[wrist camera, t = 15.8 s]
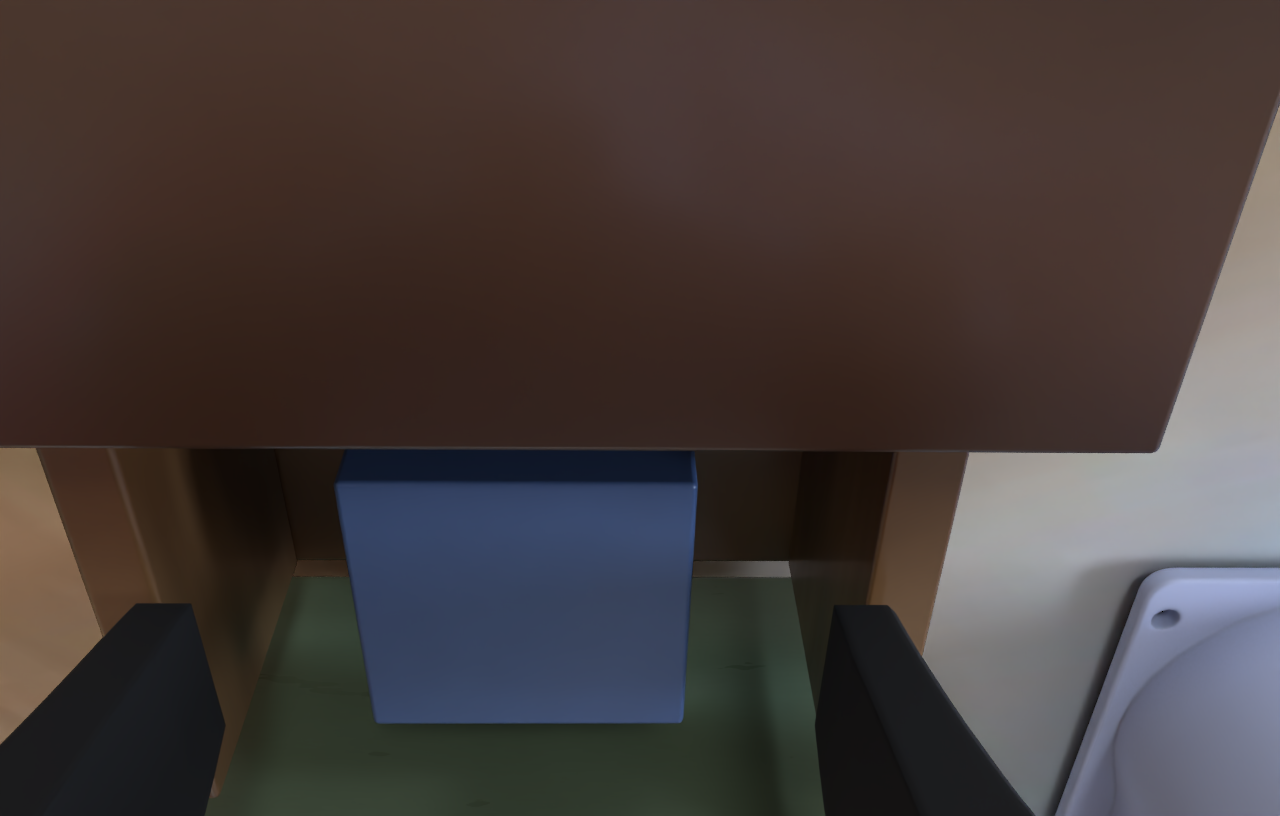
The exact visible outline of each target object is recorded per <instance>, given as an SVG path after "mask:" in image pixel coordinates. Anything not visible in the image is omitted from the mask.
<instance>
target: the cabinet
mask: <svg viewBox="0 0 1280 816" xmlns="http://www.w3.org/2000/svg"><path fill="white" fill-rule="evenodd" d="M1279 104H1280V0H0V448H169V449H381V450H593V451H805V452H1016V453H1153V452H1156V451H1157V450H1158V449H1159V447H1160V445H1161V442H1162V439H1163V436H1164V433H1165V430H1166V427H1167V425H1168V422H1169V419H1170V416H1171V413H1172V410H1173V407H1174V404H1175V402H1176V399H1177V396H1178V393H1179V390H1180V387H1181V384H1182V382H1183V379H1184V376H1185V373H1186V370H1187V367H1188V364H1189V362H1190V359H1191V356H1192V353H1193V350H1194V347H1195V344H1196V342H1197V339H1198V336H1199V333H1200V330H1201V327H1202V324H1203V322H1204V319H1205V316H1206V313H1207V310H1208V307H1209V304H1210V302H1211V299H1212V296H1213V293H1214V290H1215V287H1216V284H1217V281H1218V279H1219V276H1220V273H1221V270H1222V267H1223V264H1224V261H1225V259H1226V256H1227V253H1228V250H1229V247H1230V244H1231V241H1232V239H1233V236H1234V233H1235V230H1236V227H1237V224H1238V221H1239V219H1240V216H1241V213H1242V210H1243V207H1244V204H1245V201H1246V199H1247V196H1248V193H1249V190H1250V187H1251V184H1252V181H1253V179H1254V176H1255V173H1256V170H1257V167H1258V164H1259V161H1260V158H1261V156H1262V153H1263V150H1264V147H1265V144H1266V141H1267V138H1268V136H1269V133H1270V130H1271V127H1272V124H1273V121H1274V118H1275V116H1276V113H1277V110H1278V107H1279Z"/></svg>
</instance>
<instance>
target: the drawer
mask: <svg viewBox="0 0 1280 816" xmlns="http://www.w3.org/2000/svg"><path fill="white" fill-rule="evenodd" d="M36 450H37V453H38V455H39V458H40V461H41V464H42V467H43V470H44V472H45V475H46V478H47V481H48V484H49V486H50V489H51V492H52V495H53V498H54V501H55V503H56V506H57V509H58V512H59V515H60V517H61V520H62V523H63V526H64V529H65V532H66V534H67V537H68V540H69V543H70V546H71V548H72V551H73V554H74V557H75V560H76V563H77V565H78V568H79V571H80V574H81V577H82V579H83V582H84V585H85V588H86V591H87V594H88V596H89V599H90V602H91V605H92V608H93V610H94V613H95V616H96V619H97V622H98V625H99V627H100V630H101V633H102V636H103V637H104V636H105V635H106V634H107V633H108V632H109V630H110V629H111V628H112V627H113V626H114V625H115V624H116V623H117V622H118V621H119V620H120V619H121V618H122V617H123V616H124V615H125V614H126V613H127V612H128V611H129V610H130V609H131V608H132V607H133V606H134V605H135V604H136V603H191V604H192V608H193V611H194V615H195V618H196V622H197V626H198V629H199V633H200V636H201V640H202V643H203V647H204V650H205V654H206V657H207V661H208V664H209V668H210V671H211V675H212V678H213V682H214V685H215V689H216V692H217V696H218V699H219V703H220V706H221V710H222V713H223V717H224V720H225V724H226V727H225V731H224V736H223V740H222V745H221V749H220V754H219V758H218V763H217V767H216V772H215V776H214V780H213V784H212V788H211V792H210V796H209V800H208V804H207V808H206V812H205V815H204V816H825V811H824V803H823V795H822V787H821V779H820V770H819V761H818V752H817V743H816V733H815V719H816V713H817V707H818V701H819V695H820V688H821V682H822V676H823V670H824V664H825V657H826V651H827V645H828V639H829V633H830V626H831V620H832V614H833V608H834V605H888V606H889V607H890V608H891V609H892V610H893V611H894V612H895V613H896V614H897V616H898V618H899V619H900V621H901V623H902V624H903V626H904V628H905V630H906V631H907V633H908V635H909V636H910V638H911V640H912V641H913V643H914V645H915V646H916V648H917V649H918V651H919V653H920V654H921V656H922V655H923V650H924V646H925V642H926V637H927V633H928V629H929V624H930V620H931V616H932V611H933V607H934V603H935V598H936V594H937V590H938V585H939V581H940V577H941V572H942V568H943V564H944V559H945V555H946V551H947V546H948V542H949V538H950V533H951V529H952V525H953V520H954V516H955V512H956V508H957V503H958V499H959V495H960V490H961V486H962V482H963V477H964V473H965V469H966V464H967V460H968V456H969V452H805V451H695V461H696V472H697V483H698V491H697V507H696V523H695V540H694V556H693V561H789V568H790V574H791V577H692V588H691V604H690V620H689V636H688V652H687V668H686V685H685V701H684V717H683V720H682V722H681V723H652V724H378V723H376V722H375V721H374V718H373V712H372V706H371V700H370V695H369V689H368V683H367V677H366V671H365V666H364V660H363V654H362V648H361V642H360V636H359V631H358V625H357V619H356V613H355V607H354V602H353V596H352V590H351V584H350V578H349V577H298V576H293V573H294V570H295V567H296V564H297V560H346V555H345V549H344V543H343V537H342V532H341V526H340V520H339V514H338V508H337V503H336V497H335V491H334V481H335V478H336V475H337V472H338V469H339V466H340V463H341V460H342V456H343V453H344V450H345V449H169V448H36Z"/></svg>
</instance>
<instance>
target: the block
mask: <svg viewBox="0 0 1280 816" xmlns="http://www.w3.org/2000/svg"><path fill="white" fill-rule="evenodd" d="M334 491H335V497H336V503H337V508H338V514H339V520H340V526H341V532H342V537H343V543H344V549H345V555H346V561H347V567H348V572H349V578H350V584H351V590H352V596H353V602H354V607H355V613H356V619H357V625H358V631H359V636H360V642H361V648H362V654H363V660H364V666H365V671H366V677H367V683H368V689H369V695H370V700H371V706H372V712H373V718H374V721H375V722H376V723H378V724H652V723H681V722H682V720H683V717H684V701H685V685H686V668H687V652H688V636H689V620H690V604H691V588H692V572H693V556H694V540H695V523H696V507H697V491H698V483H697V472H696V461H695V451H593V450H381V449H345V450H344V453H343V456H342V460H341V463H340V466H339V469H338V472H337V475H336V478H335V481H334Z"/></svg>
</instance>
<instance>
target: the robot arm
mask: <svg viewBox="0 0 1280 816" xmlns="http://www.w3.org/2000/svg"><path fill="white" fill-rule="evenodd" d="M1163 610H1166V611H1164V612H1162V613H1159V612H1161V611H1163ZM1157 613H1159V614H1157ZM225 727H226V724H225V720H224V717H223V713H222V710H221V706H220V703H219V699H218V696H217V692H216V689H215V685H214V682H213V678H212V675H211V671H210V668H209V664H208V661H207V657H206V654H205V650H204V647H203V643H202V640H201V636H200V633H199V629H198V626H197V622H196V618H195V615H194V611H193V608H192V604H191V603H136V604H135V605H134V606H133V607H132V608H131V609H130V610H129V611H128V612H127V613H126V614H125V615H124V616H123V617H122V618H121V619H120V620H119V621H118V622H117V623H116V624H115V625H114V626H113V627H112V628H111V629H110V630H109V632H108V633H107V634H106V635H105V636H104V637H103V638H102V639H101V640H100V641H99V642H98V643H97V644H96V645H95V646H94V648H93V649H92V650H91V651H90V652H89V653H88V654H87V655H86V656H85V657H84V658H83V659H82V660H81V661H80V663H79V664H78V665H77V666H76V667H75V668H74V669H73V670H72V671H71V672H70V673H69V674H68V675H67V676H66V677H65V679H64V680H63V681H62V682H61V683H60V684H59V685H58V686H57V687H56V688H55V689H54V690H53V691H52V692H51V693H50V694H49V695H48V696H47V698H46V699H45V700H44V701H43V702H42V703H41V704H40V705H39V706H38V707H37V708H36V709H35V710H34V711H33V712H32V713H31V714H30V715H29V716H28V717H27V718H26V719H25V720H24V721H23V722H22V723H21V724H20V725H19V726H18V727H17V728H16V729H15V730H14V731H13V732H12V733H11V734H10V735H9V736H8V737H7V738H6V739H5V740H4V741H3V742H2V744H1V745H0V816H204V815H205V812H206V808H207V804H208V800H209V796H210V792H211V788H212V784H213V780H214V776H215V772H216V767H217V763H218V758H219V754H220V749H221V745H222V740H223V736H224V731H225ZM815 733H816V743H817V752H818V761H819V770H820V779H821V787H822V795H823V803H824V811H825V816H1035V815H1034V813H1033V812H1032V811H1031V810H1030V808H1029V807H1028V806H1027V805H1026V803H1025V802H1024V801H1023V800H1022V798H1021V797H1020V796H1019V795H1018V793H1017V792H1016V791H1015V789H1014V788H1013V787H1012V785H1011V784H1010V783H1009V782H1008V780H1007V779H1006V778H1005V776H1004V775H1003V774H1002V772H1001V771H1000V770H999V768H998V767H997V766H996V764H995V763H994V761H993V760H992V759H991V757H990V756H989V755H988V753H987V752H986V750H985V749H984V748H983V746H982V745H981V744H980V742H979V741H978V739H977V738H976V737H975V735H974V734H973V732H972V731H971V730H970V728H969V727H968V726H967V724H966V723H965V721H964V720H963V718H962V717H961V715H960V714H959V713H958V711H957V710H956V708H955V707H954V705H953V704H952V702H951V701H950V699H949V698H948V696H947V695H946V693H945V692H944V690H943V689H942V687H941V686H940V684H939V683H938V681H937V680H936V678H935V676H934V675H933V673H932V672H931V670H930V669H929V667H928V665H927V664H926V662H925V661H924V659H923V658H922V656H921V654H920V653H919V651H918V649H917V648H916V646H915V645H914V643H913V641H912V640H911V638H910V636H909V635H908V633H907V631H906V630H905V628H904V626H903V624H902V623H901V621H900V619H899V618H898V616H897V614H896V613H895V612H894V611H893V610H892V609H891V608H890V607H889V606H888V605H834V608H833V614H832V620H831V626H830V633H829V639H828V645H827V651H826V657H825V664H824V670H823V676H822V682H821V688H820V695H819V701H818V707H817V713H816V719H815ZM1055 816H1280V568H1166V569H1161V570H1158V571H1156V572H1154V573H1152V574H1151V575H1149V576H1148V577H1147V578H1145V579H1144V581H1143V582H1142V584H1141V585H1140V587H1139V590H1138V592H1137V595H1136V598H1135V600H1134V603H1133V606H1132V608H1131V611H1130V614H1129V617H1128V619H1127V622H1126V625H1125V627H1124V630H1123V633H1122V636H1121V638H1120V641H1119V644H1118V646H1117V649H1116V652H1115V655H1114V657H1113V660H1112V663H1111V665H1110V668H1109V671H1108V673H1107V676H1106V679H1105V682H1104V684H1103V687H1102V690H1101V692H1100V695H1099V698H1098V701H1097V703H1096V706H1095V709H1094V711H1093V714H1092V717H1091V720H1090V722H1089V725H1088V728H1087V730H1086V733H1085V736H1084V738H1083V741H1082V744H1081V747H1080V749H1079V752H1078V755H1077V757H1076V760H1075V763H1074V766H1073V768H1072V771H1071V774H1070V776H1069V779H1068V782H1067V784H1066V787H1065V790H1064V793H1063V795H1062V798H1061V801H1060V803H1059V806H1058V809H1057V812H1056V814H1055Z"/></svg>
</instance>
